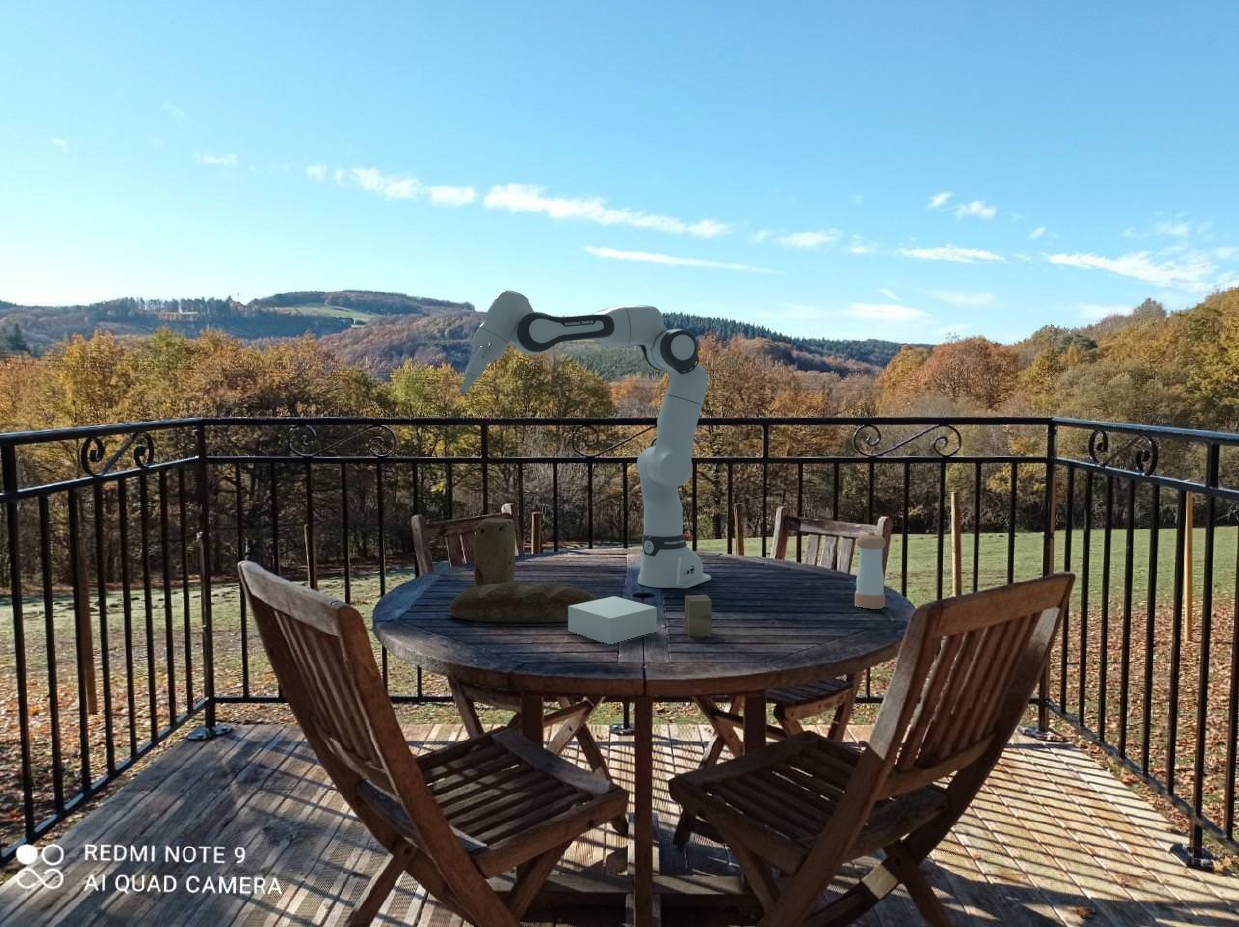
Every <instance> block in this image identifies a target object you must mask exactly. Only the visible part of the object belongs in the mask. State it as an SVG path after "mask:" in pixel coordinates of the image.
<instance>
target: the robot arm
mask: <svg viewBox="0 0 1239 927" xmlns="http://www.w3.org/2000/svg"><path fill="white" fill-rule="evenodd" d="M585 340H587V341H588V340H590V341H591V340H592V341H595V342H597V343H598V344H599V345H600V346H602V347H612V348H613V347H615V348H616V347H618V348H619V347H628V346H637V345H638V346H639V345H640V348H641V350H642V353H643V356H644V357H643V358H644V359H645V361H646V362H647V364H648V365H649V366H650V367H651V368H652V369H654V370H658V371H666V372H667V375H668V386H667V388H666V391H665V394H664V398H663V399H662V400H663V401H662V404H661V407H660V409H659V415H658V417H657V420H656V424H657V425H656V426H657V434H656V442H655V445H654V446H650V447H648V448H646V449H645V450H643V451H641V453H640V454H639V455H638V457H637V459H636V460H637V461H636V469H637V471H638V474H639V482H640V489H641V496H642V497H641V498H642V504H643V533H642V534H641V536H642V537H641V545H642V549H643V550H642V552H641V559H640V567H639V573H638V575H637V583H638V584H639V585H640V586H641V585H642V586H645V587H650V588H660V589H663V588H665V589H668V588H669V589H671V588H673V589H677V588H678V589H688V588H691V587H693V586H697V585H700V584H702V583H705V582H707V581H711V580H712V576H711V575H710V574H708V573H704V566H703V561H702V558H701V557H700V556H699V555H697V554H696V553H694V551H692V550H691V549H690V548H689V547H688V545H687V542H693V538H694V536H693V535H692V534H689V533H686V534H684V533H683V523H684V522H683V519H684V518H683V517H684V516H683V510H684V509H683V504H682V502H681V499H680V493H679V488H678V487H680V486H683V485H685V484H686V483H687V482H688V481H689V480H690V478H691V476H692V474H693V469H694V468H693V462H692V457H693V446H694V439H695V434H696V433H695V432H696V428H697V424H698V421H699V418H700V414H701V411H702V407H703V405H704V401H705V396H706V393H707V392H706V391H707V385H708V373H707V370H706V369H705V368H704V367H703V366H701V365H699V364H700V357H699V346H698V341H697V339H696V337H695V336H694V334H692V333H691V332H690V331H689V330H686V329H683V328H673V329H668V328H667V327H666V326H665V324H664V317H663V315H662V313H661V311H660V310H659V309H658V308H657V307H656V306H653V305H646V304H626V305H625V304H624V305H617V306H616V305H615V306H611V307H606V308H603V309H601V310H598V311H595V312H593V313H590V314H583V315H573V316H572V315H571V316H555V315H554V316H553V315H551V314H548V313H546V312H545V313H544V312H542V311H541V312H540V311H534V309H533V307H532V305H531V303H530V300H529V298H528V297H527V296H525V295H524V294H523V293H520V292H517V291H514V290H511V289H510V290H509V289H508V290H503V291H501V292H499V294H497V296H496V297H495V298H494V300H493V301H492V303H491V305H490V306H489V308H488V310H487V311H486V313H485V317H484V320H483V322H482V323H481V324H480V325H479V326H478V328H477V330H476V331H475V333H474V335H473V337H472V338H471V341H470V343H469V345H471V347H472V349H471V351H470V352H471V355H470V358H469V361H468V363H467V365H466V368H465V371H464V372H463V377H464V380H463V382H462V385H461V387H460V389H459V393H461V394H462V395H466V394H467V392H468V391H469V390H470V389H471V386H472V385H473V384H474V383H476V381H478V379H479V378H480V377H481V376H482V375H483V373H484V371H485V370H486V368H487V366H488V365H489V364H490V363H491V364H493V363H494V362H495V360H496V361H497V360H498V361H500V360H501V359H502V357H503V356H504V354H505V352H506V350H507V347H508V346H509V345H510V344H511V345H512V346H514V347H515V349H517V350H518V351H519V352H521V353H522V354H524V355H528V356H533V355H534V356H535V355H538V354H540V353H542V352H545V351H548V350H549V349H551V348H552V347H554V346H555V345H557V344H559V343H566V342H573V341H574V342H575V341H576V342H577V341H585Z"/></svg>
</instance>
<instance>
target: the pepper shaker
mask: <svg viewBox="0 0 1239 927" xmlns="http://www.w3.org/2000/svg"><path fill="white" fill-rule="evenodd" d="M886 543H887V542H886V540H885V538H884V537H883V536H882V535H880V534H876V533H875V532H874V531H871V530H870V531H869V532H868V533H865V534H864V533H863V534H861V535H860V536H858V537H857V539H856V545H857V546H858V547H859V564H858V570H857V573H856V574H857V575H856V590H855V592H854V606H855V607H856V606H857V607H863V608H870V609H879V608H883V607H885V606H886V603H885V602H886V594H885V592H884V588H885V586H884V585H885V577H884V571H883V570H884V569H883V549H884V548H885V546H886ZM857 607H856V608H857ZM885 608H886V607H885Z"/></svg>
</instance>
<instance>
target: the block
mask: <svg viewBox="0 0 1239 927" xmlns="http://www.w3.org/2000/svg"><path fill="white" fill-rule="evenodd" d="M514 523H515V522H514V520H513V519H512V518H500V517H493V518H490V517H488V518H487V517H486V518H484V519H482V520H481V521H480V522H479V523H478V524H477V527H476V530H475V534H474V541H473V542H474V543H473V544H474V545H473V562H474V565H473V568H474V569H473V570H474V571H473V587H476V586H481V585H487V584H502V583H505V582H515V576H516V535H515V524H514Z"/></svg>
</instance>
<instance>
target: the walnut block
mask: <svg viewBox="0 0 1239 927" xmlns="http://www.w3.org/2000/svg"><path fill="white" fill-rule="evenodd" d="M712 604H713V602H712V599H711V598H710V596H708V595H706V594H701V595H700V594H699V595H697V594H696V595H684V631H686V632H685V634H687V633H688V635H689V636H700V635H711V636H712V624H713V622H712V615H713V613H712V611H713V609H712V606H713V605H712ZM688 635H687V636H688ZM689 636H688V637H689Z"/></svg>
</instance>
